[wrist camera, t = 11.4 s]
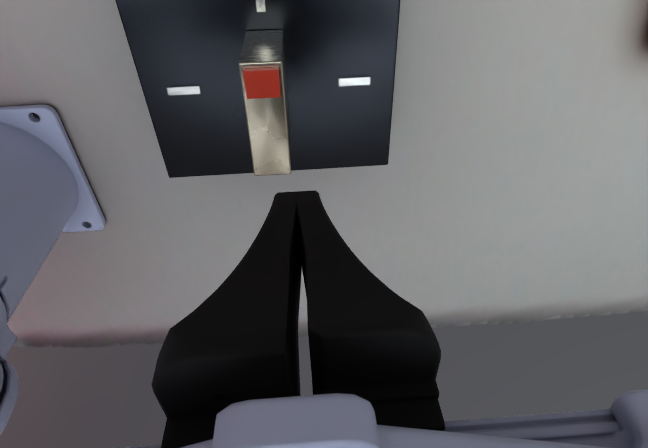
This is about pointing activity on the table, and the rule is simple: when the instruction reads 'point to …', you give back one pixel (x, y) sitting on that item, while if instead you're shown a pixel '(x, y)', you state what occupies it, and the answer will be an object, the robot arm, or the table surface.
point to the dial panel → (301, 72)
